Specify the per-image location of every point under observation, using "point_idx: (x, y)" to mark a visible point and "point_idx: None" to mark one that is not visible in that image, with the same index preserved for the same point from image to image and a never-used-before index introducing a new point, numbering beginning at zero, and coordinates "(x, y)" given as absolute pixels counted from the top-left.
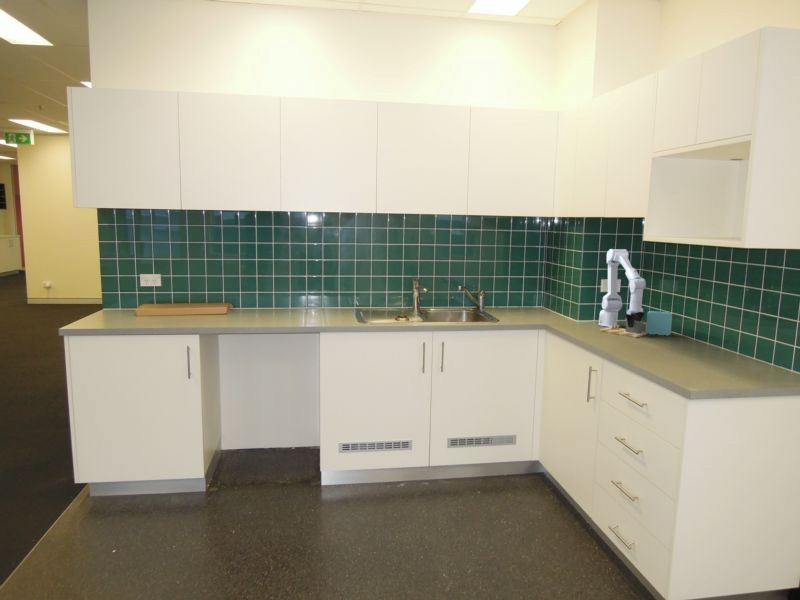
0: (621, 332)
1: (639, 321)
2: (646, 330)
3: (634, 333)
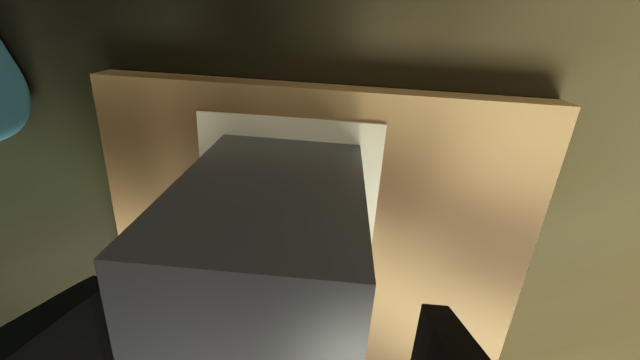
0: None
1: (129, 346)
2: (3, 125)
3: (376, 202)
